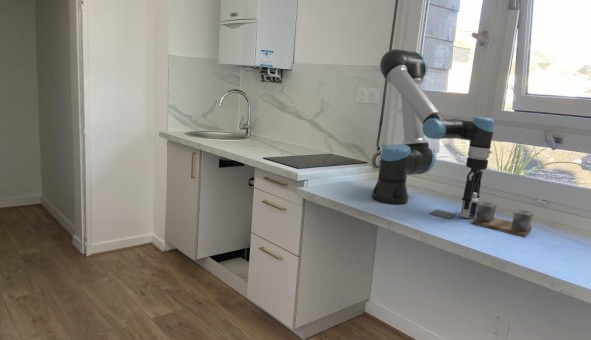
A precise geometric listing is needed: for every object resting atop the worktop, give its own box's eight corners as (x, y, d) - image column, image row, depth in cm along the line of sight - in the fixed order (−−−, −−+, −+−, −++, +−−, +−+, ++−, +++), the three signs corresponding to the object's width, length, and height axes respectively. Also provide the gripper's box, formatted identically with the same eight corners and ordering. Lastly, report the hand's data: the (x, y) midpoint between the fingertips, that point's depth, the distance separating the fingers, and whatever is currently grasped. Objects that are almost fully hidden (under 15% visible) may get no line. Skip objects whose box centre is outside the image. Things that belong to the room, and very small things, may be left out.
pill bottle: (476, 219, 169) (480, 195, 167) (461, 217, 170) (465, 193, 168) (473, 215, 174) (477, 191, 172) (459, 213, 175) (463, 190, 173)
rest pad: (429, 214, 170) (429, 213, 170) (436, 210, 177) (436, 209, 177) (449, 219, 166) (449, 218, 166) (456, 215, 172) (456, 214, 172)
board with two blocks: (472, 224, 162) (475, 205, 161) (480, 217, 172) (483, 199, 170) (525, 237, 152) (529, 217, 150) (531, 229, 162) (534, 210, 160)
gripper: (481, 162, 157) (471, 222, 161) (494, 157, 173) (484, 212, 177) (460, 158, 161) (450, 217, 166) (474, 154, 177) (465, 208, 182)
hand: (468, 215), depth 171 cm, fingers open, 7 cm apart
